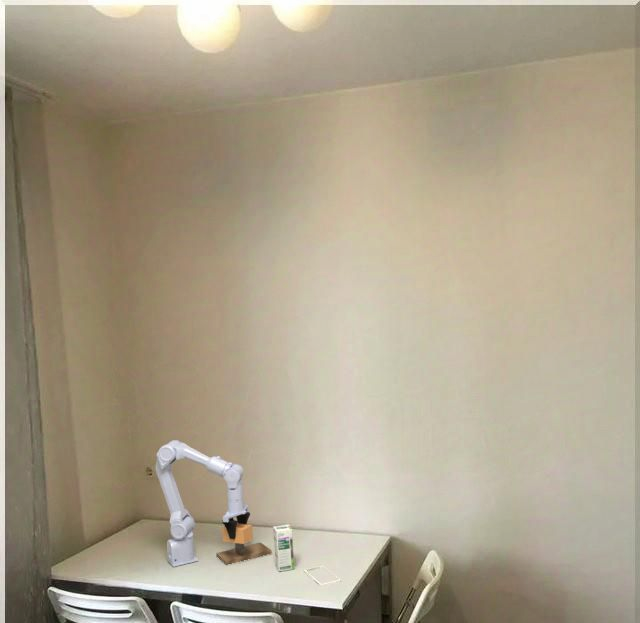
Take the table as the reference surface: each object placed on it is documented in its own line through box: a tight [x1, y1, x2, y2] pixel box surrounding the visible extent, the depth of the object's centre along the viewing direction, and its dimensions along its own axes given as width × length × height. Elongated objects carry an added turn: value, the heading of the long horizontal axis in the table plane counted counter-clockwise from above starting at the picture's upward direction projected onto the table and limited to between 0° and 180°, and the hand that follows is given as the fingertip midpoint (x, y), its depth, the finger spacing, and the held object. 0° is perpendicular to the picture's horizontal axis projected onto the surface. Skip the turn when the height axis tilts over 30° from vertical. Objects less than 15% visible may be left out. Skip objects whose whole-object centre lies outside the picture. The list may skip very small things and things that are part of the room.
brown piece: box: [215, 542, 273, 566], centre depth 257 cm, size 18×10×6 cm, turn 119°
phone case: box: [303, 564, 341, 587], centre depth 234 cm, size 7×1×15 cm
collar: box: [221, 523, 253, 545], centre depth 252 cm, size 6×9×5 cm, turn 64°
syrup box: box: [272, 524, 295, 572], centre depth 243 cm, size 6×6×14 cm
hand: (237, 535), depth 252 cm, fingers closed on collar, 6 cm apart
